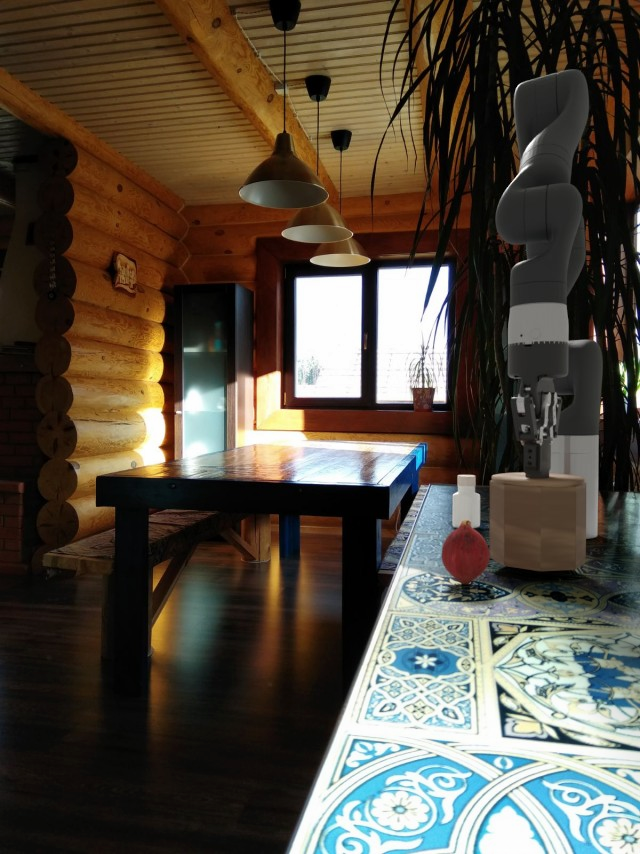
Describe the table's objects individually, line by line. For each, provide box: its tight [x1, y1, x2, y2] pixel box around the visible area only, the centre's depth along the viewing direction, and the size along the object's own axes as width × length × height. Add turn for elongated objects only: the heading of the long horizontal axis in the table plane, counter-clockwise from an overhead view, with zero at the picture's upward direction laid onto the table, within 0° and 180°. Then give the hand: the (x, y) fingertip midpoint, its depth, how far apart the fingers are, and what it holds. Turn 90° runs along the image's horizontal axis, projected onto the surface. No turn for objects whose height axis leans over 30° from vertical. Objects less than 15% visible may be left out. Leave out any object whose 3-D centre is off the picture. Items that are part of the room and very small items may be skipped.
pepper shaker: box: [451, 474, 481, 529], centre depth 118 cm, size 4×4×10 cm
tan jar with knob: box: [489, 439, 587, 572], centre depth 86 cm, size 12×12×16 cm
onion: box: [441, 519, 491, 585], centre depth 80 cm, size 6×6×8 cm
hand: (537, 472), depth 85 cm, fingers closed on tan jar with knob, 3 cm apart
